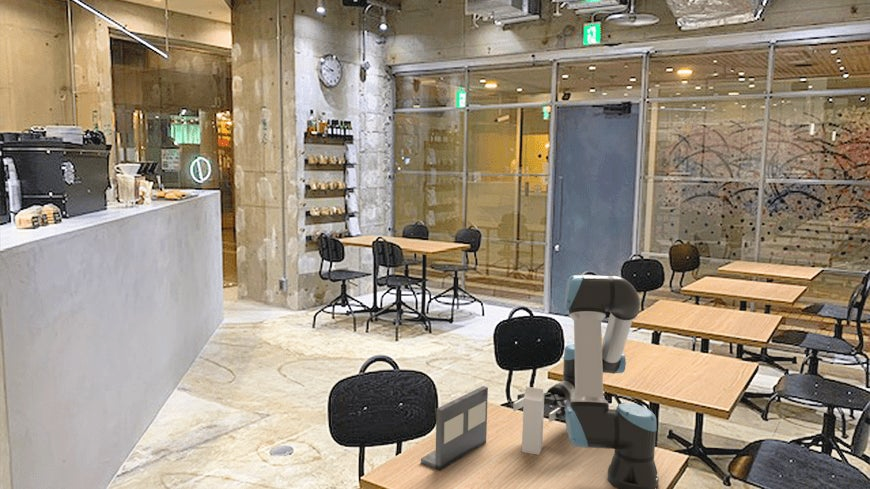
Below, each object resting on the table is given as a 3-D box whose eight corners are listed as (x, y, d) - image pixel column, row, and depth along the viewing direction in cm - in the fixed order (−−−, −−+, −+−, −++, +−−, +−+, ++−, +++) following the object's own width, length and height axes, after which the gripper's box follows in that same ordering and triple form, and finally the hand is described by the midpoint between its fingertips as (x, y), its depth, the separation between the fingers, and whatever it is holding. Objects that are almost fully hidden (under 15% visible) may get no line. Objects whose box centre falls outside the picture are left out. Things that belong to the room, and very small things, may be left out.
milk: (525, 444, 216) (527, 383, 214) (542, 447, 214) (545, 385, 212) (521, 452, 211) (523, 389, 208) (539, 455, 209) (541, 391, 206)
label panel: (486, 442, 217) (488, 387, 215) (441, 471, 197) (442, 410, 194) (467, 435, 222) (468, 381, 220) (420, 462, 202) (421, 403, 199)
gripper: (592, 413, 220) (565, 433, 203) (530, 395, 235) (499, 413, 218) (593, 392, 219) (566, 411, 202) (530, 376, 234) (500, 392, 217)
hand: (531, 412), depth 210 cm, fingers open, 13 cm apart
